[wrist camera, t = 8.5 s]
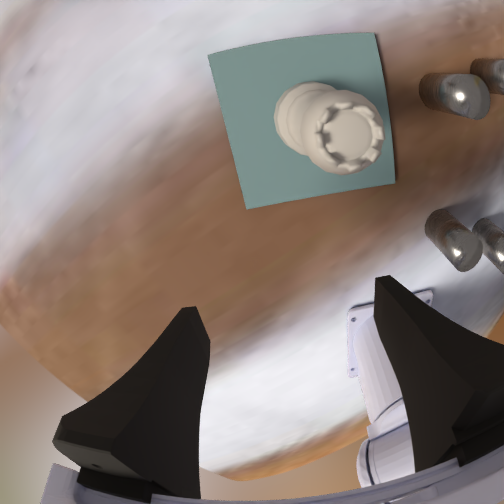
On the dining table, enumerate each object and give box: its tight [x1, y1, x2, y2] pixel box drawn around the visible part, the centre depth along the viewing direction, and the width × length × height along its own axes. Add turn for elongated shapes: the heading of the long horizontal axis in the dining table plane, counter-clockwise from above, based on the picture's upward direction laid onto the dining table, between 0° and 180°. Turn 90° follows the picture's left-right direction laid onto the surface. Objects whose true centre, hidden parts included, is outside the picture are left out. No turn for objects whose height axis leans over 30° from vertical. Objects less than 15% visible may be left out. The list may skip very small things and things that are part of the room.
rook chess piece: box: [274, 81, 386, 175], centre depth 13 cm, size 4×4×8 cm
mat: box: [208, 33, 395, 209], centre depth 16 cm, size 10×10×1 cm
